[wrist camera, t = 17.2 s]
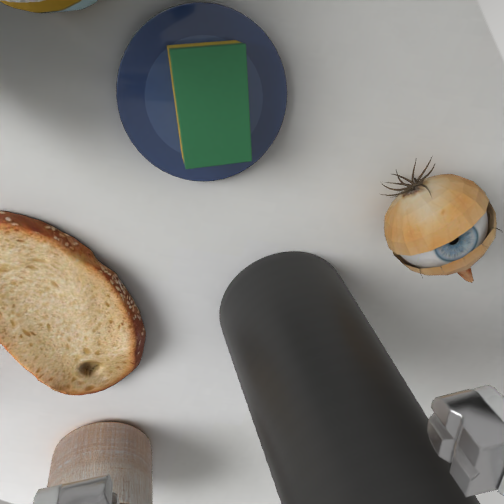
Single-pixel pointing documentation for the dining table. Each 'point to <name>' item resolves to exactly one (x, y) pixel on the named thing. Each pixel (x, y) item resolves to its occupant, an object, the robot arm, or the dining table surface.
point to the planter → (106, 459)
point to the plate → (161, 91)
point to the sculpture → (440, 224)
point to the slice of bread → (64, 309)
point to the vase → (327, 391)
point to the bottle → (48, 5)
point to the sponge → (211, 102)
